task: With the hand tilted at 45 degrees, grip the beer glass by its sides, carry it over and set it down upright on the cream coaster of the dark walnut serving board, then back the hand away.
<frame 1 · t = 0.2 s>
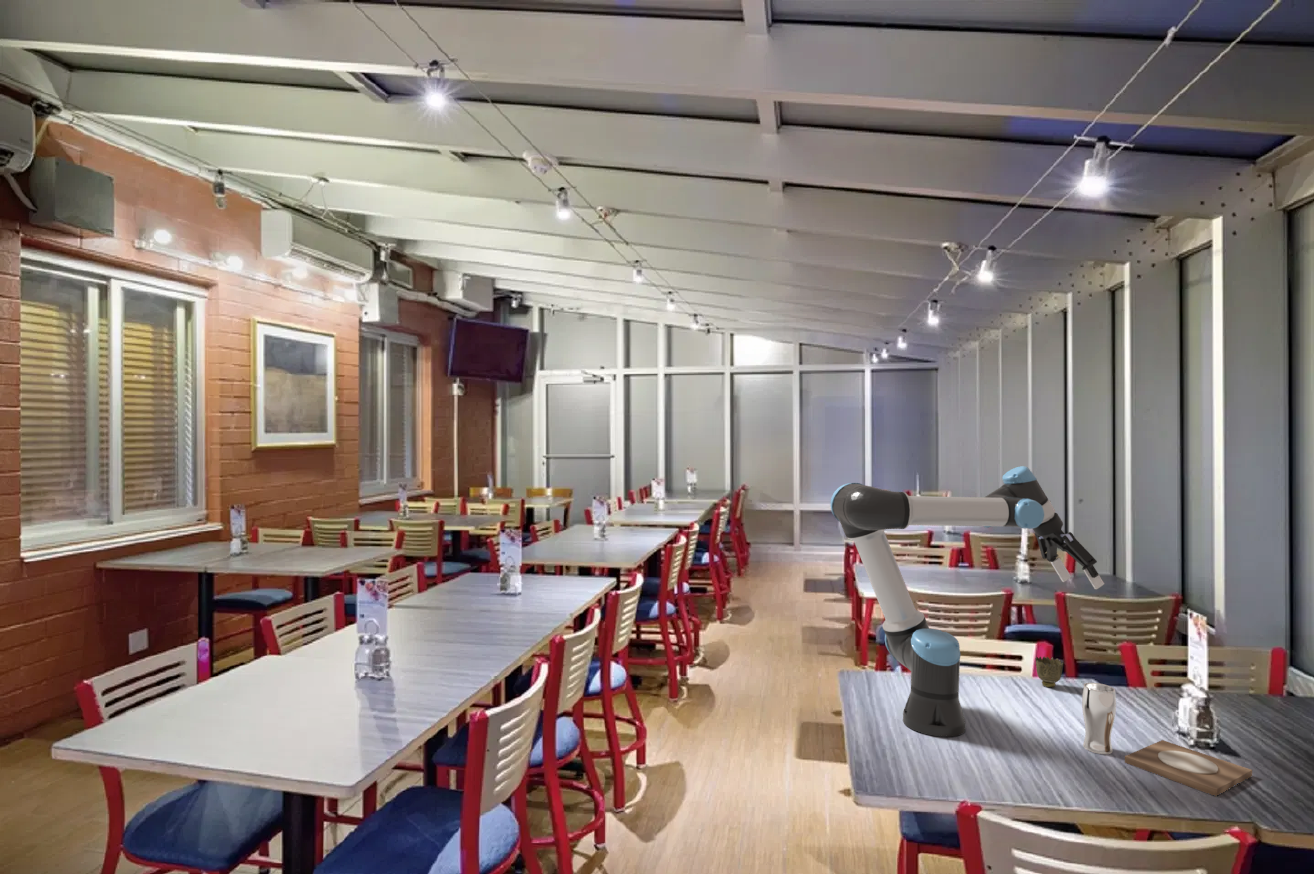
hand: (1082, 583, 203), 35 cm above the table, tool tilted 35°, fingers open, 13 cm apart
cup: (1048, 686, 219), on the table
beer glass: (1097, 749, 175), on the table
serving board: (1187, 769, 165), on the table
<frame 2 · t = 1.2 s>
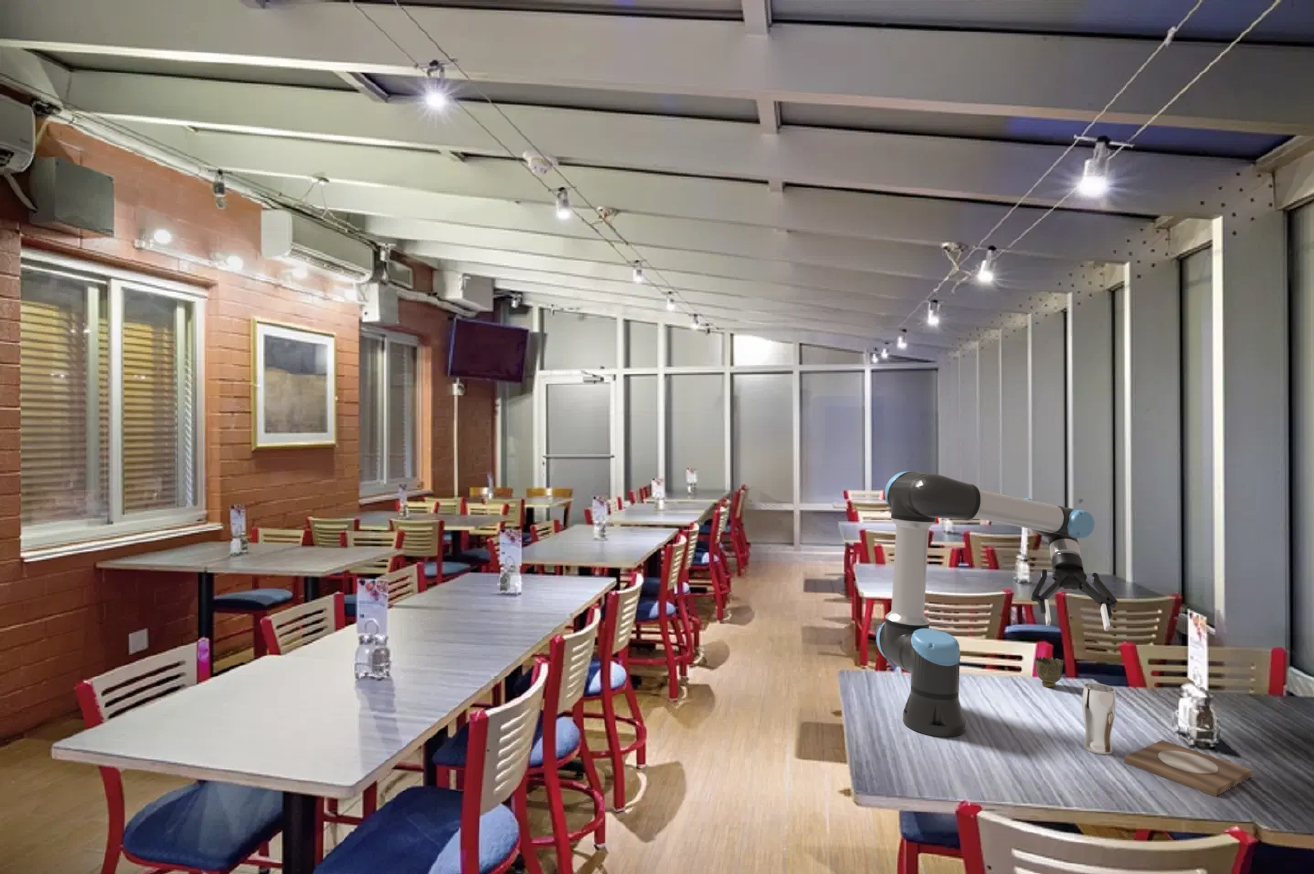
hand: (1077, 625, 191), 26 cm above the table, tool tilted 45°, fingers open, 13 cm apart
nothing on the table moved.
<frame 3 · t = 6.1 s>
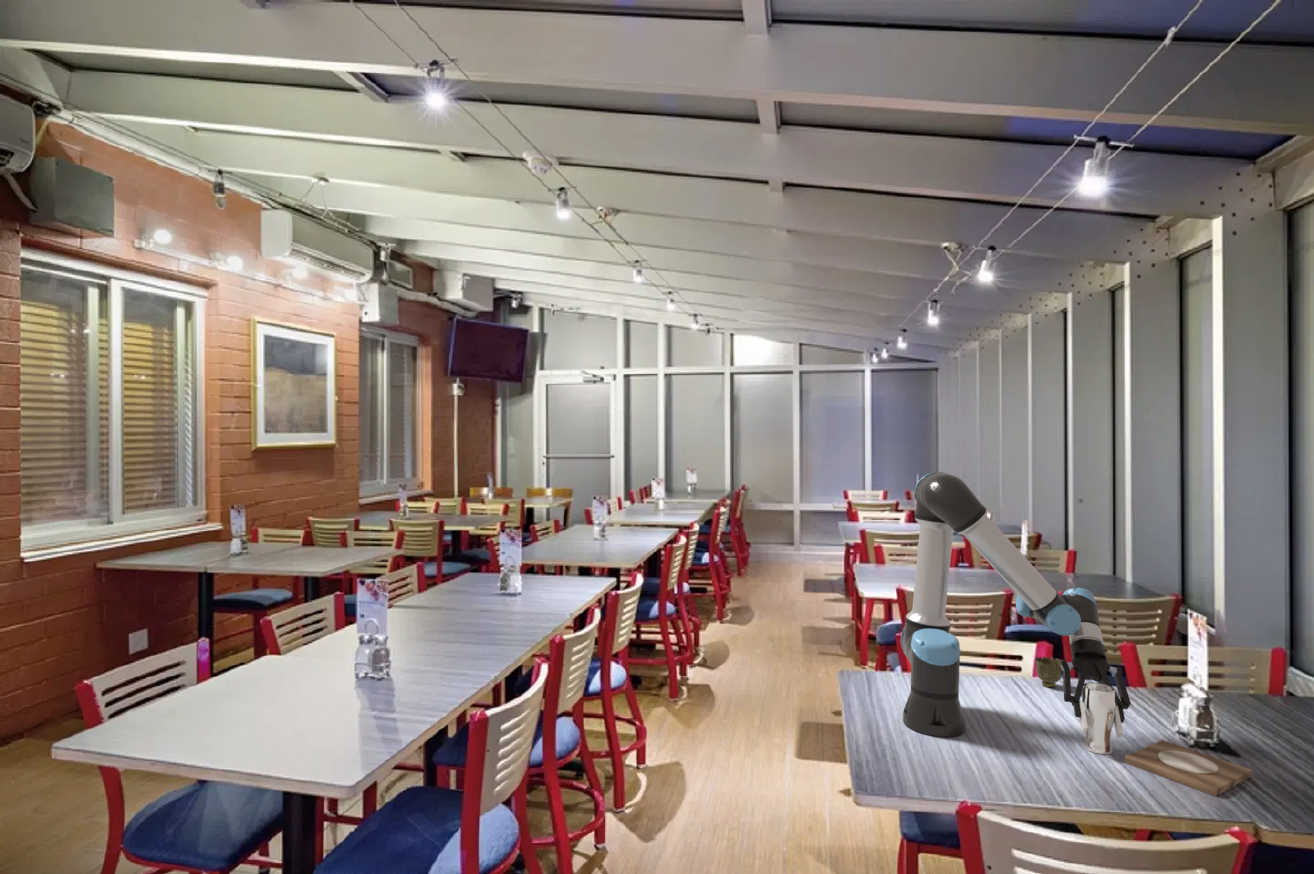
hand: (1102, 732, 172), 5 cm above the table, tool tilted 45°, fingers closed on beer glass, 6 cm apart
beer glass: (1097, 749, 175), on the table, touching gripper
everything else where it was.
when the fingers open (9 cm above the table, at t = 11.4 s): beer glass drops 1 cm, resting on serving board.
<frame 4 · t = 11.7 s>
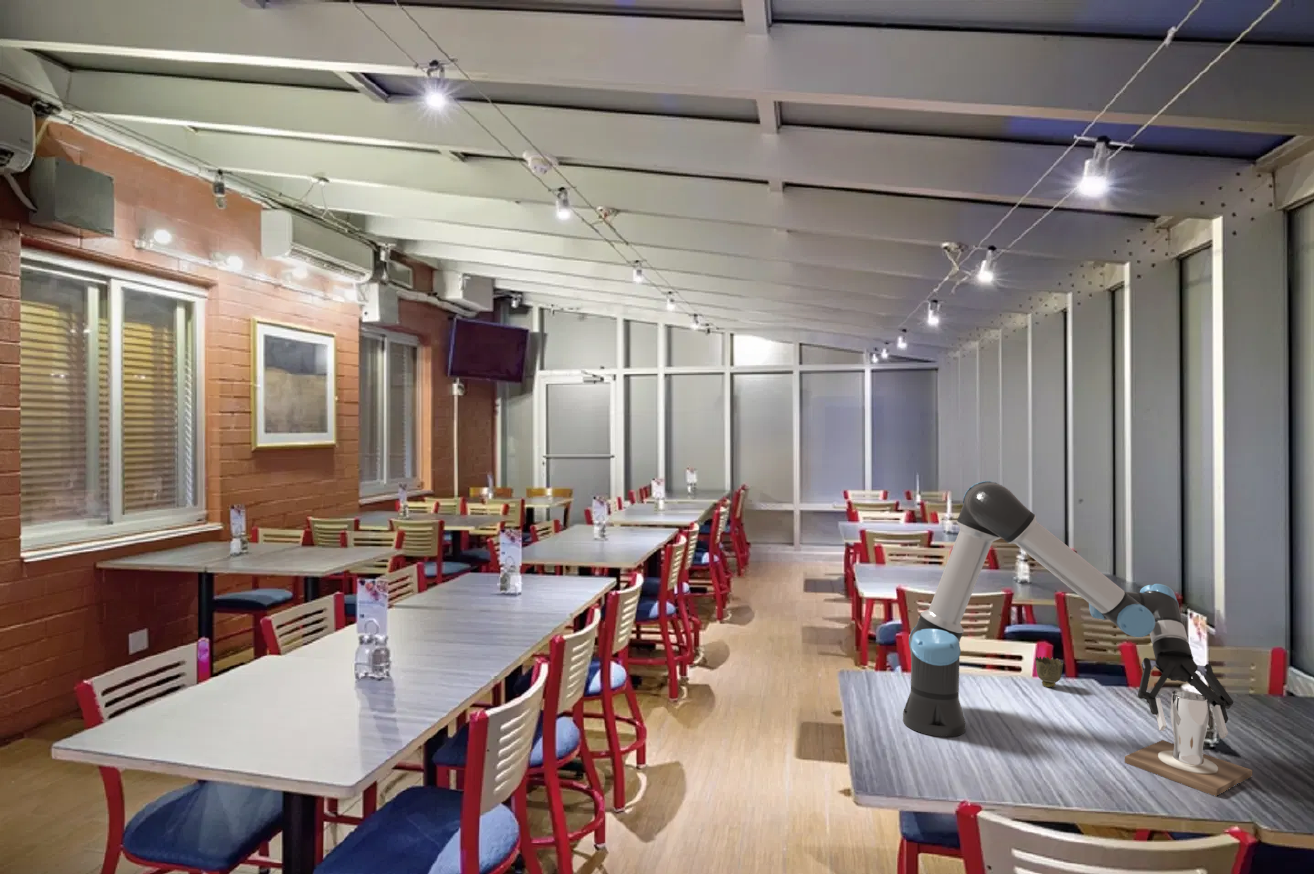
hand: (1193, 732, 163), 10 cm above the table, tool tilted 45°, fingers open, 11 cm apart
beer glass: (1187, 761, 165), point 2 cm above the table, touching serving board
everything else where it was.
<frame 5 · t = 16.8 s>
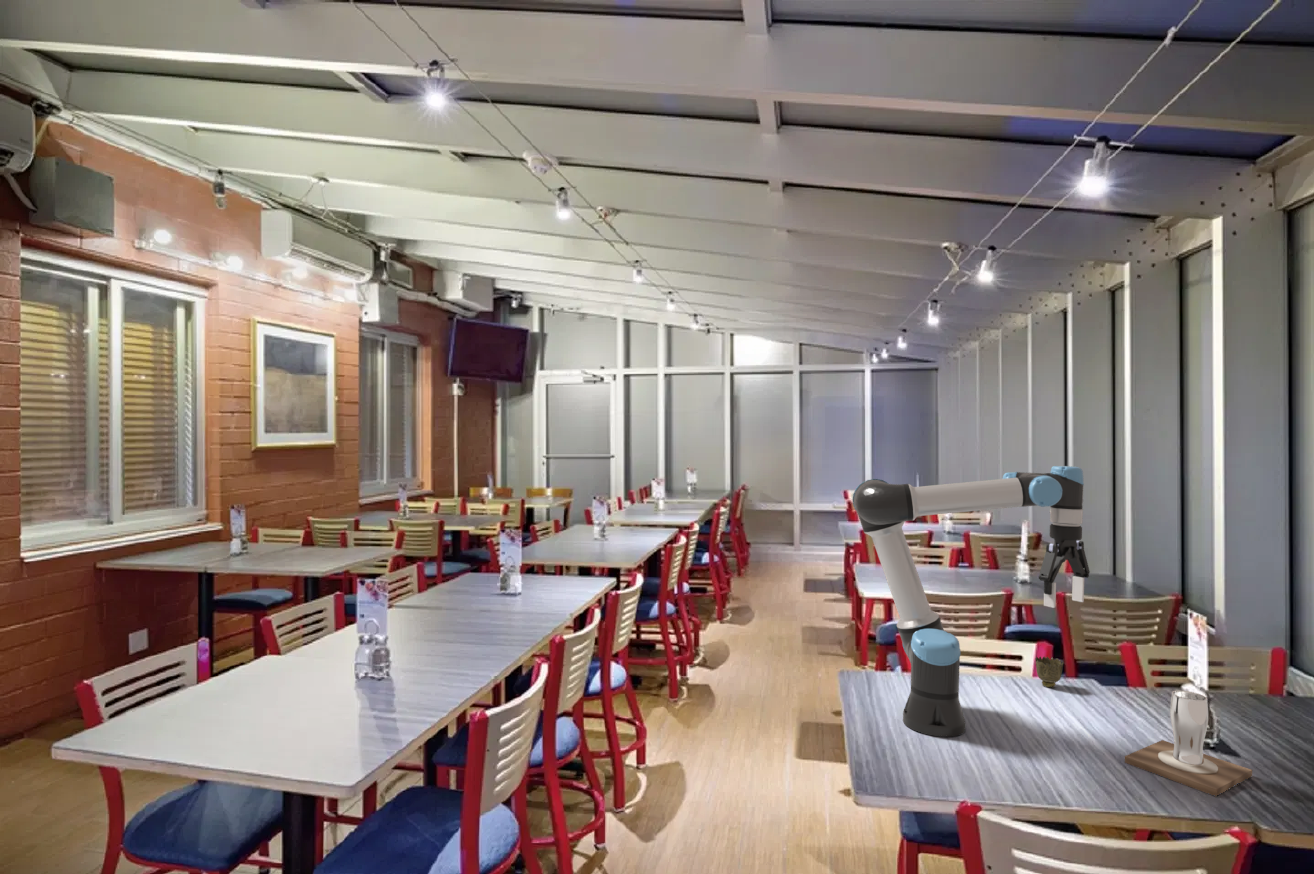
hand: (1063, 603, 194), 31 cm above the table, tool pointing down, fingers open, 13 cm apart
nothing on the table moved.
at the end: beer glass inside the target area on the serving board (0.1 cm from its centre), point 1.7 cm above the serving board's base; beer glass tilted 0°; the gripper is holding nothing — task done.
